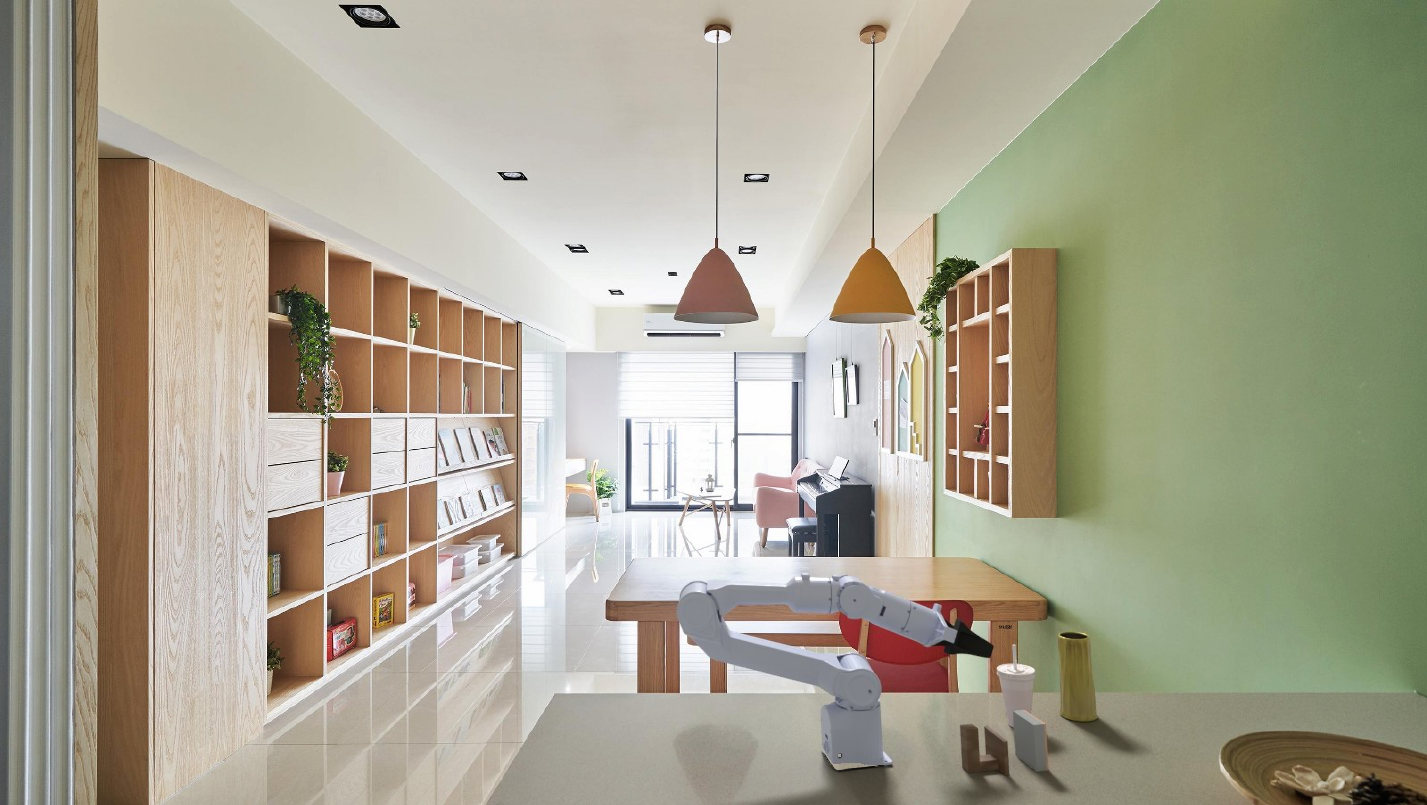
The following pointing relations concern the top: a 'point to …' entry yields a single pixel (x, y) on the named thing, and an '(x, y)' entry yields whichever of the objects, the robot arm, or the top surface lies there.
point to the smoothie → (1016, 686)
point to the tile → (1030, 740)
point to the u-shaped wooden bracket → (993, 745)
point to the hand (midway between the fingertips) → (981, 648)
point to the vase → (1076, 677)
